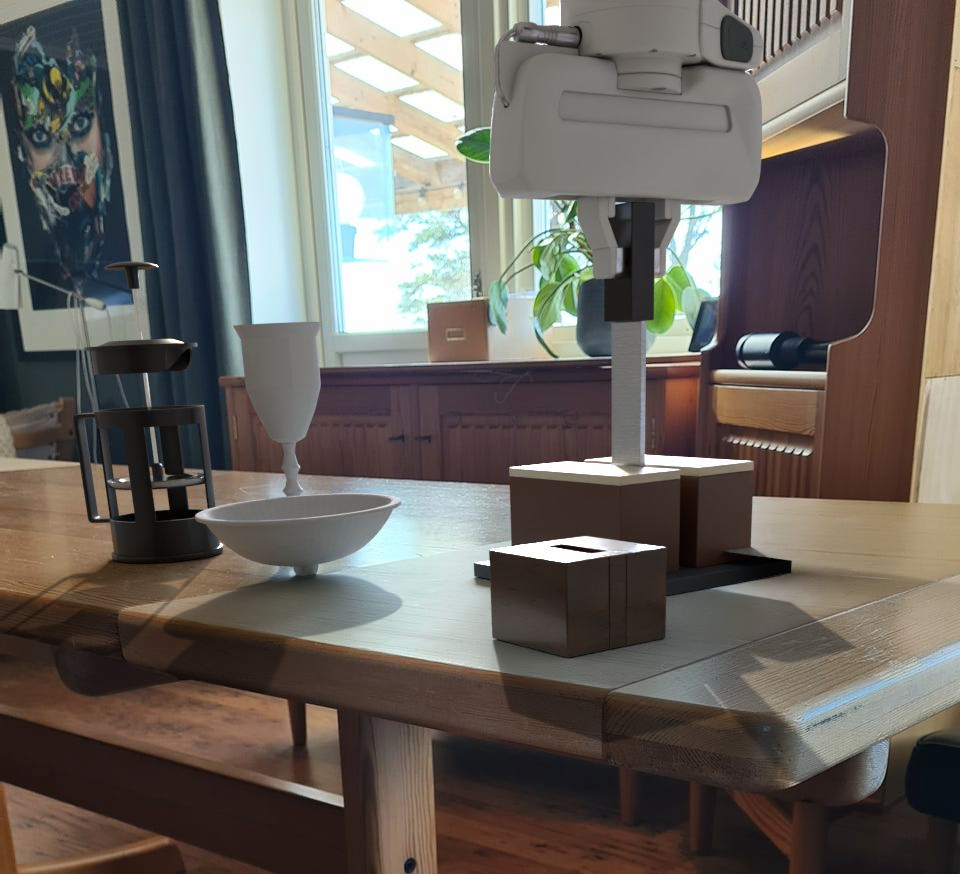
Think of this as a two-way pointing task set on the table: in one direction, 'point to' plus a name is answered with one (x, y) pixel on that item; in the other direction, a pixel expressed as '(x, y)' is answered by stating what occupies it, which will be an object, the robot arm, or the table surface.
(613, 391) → the knife
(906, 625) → the table surface
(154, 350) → the french press
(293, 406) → the chalice
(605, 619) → the knife block
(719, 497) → the brown box set
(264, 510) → the dish
